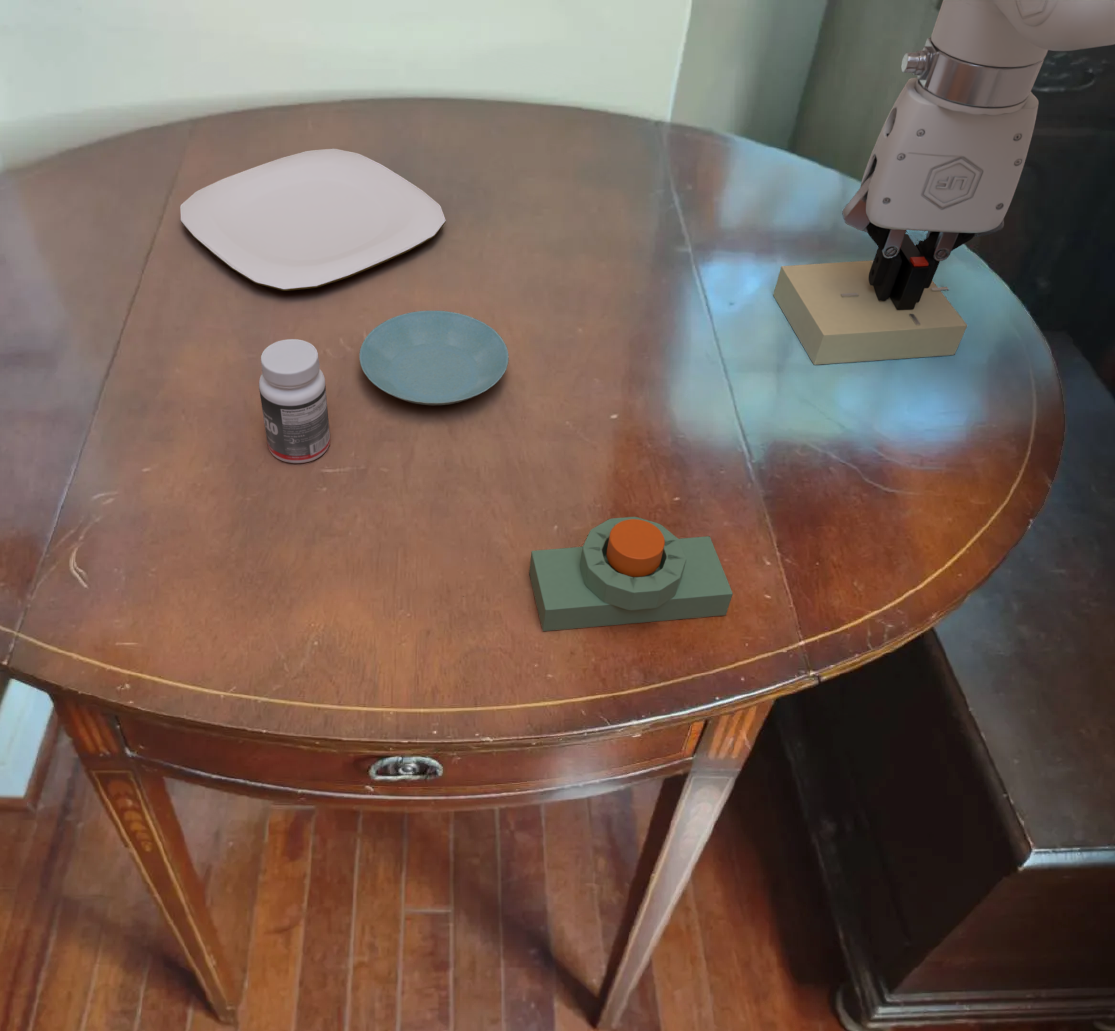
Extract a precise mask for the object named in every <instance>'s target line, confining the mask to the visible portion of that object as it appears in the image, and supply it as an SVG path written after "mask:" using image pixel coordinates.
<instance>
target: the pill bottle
mask: <svg viewBox="0 0 1115 1031" xmlns="http://www.w3.org/2000/svg"><path fill="white" fill-rule="evenodd" d="M260 355H261V356H260V364H261V365H260V366H261V374H260V378H259V381H258V382H259V383H258V390H259V397H260V398H259V399H260V402H261V403H260V404H261V410H262V411H261V412H262V416H263V418H262V419H263V424H264V429H265V438H266V444H267V447H268V450H269V452H270V453H271V455H272V456H273V457H275V458H276V459H277V460H279V461H282V462H285V463H289V464H303V463H304V464H305V463H309V462H312V461H315V460H317V459H318V458H320V457H321V456H323V455H324V454H325V453H326V452H327V450H328V449H329V447H330V444H331V432H330V422H329V412H328V398H327V386H326V385H327V384H326V378H325V375H324V373H323V371H322V369H321V364H320V358H319V353H318V350H317V348H316V347H315V346H314V345H313V344H312V343H311V342H309V341H307V340H303V339H297V338H286V339H281V340H277V341H275V342H273V343H271V344H269V345H268V346H267V347H265V348H264V349H263V351H262V353H261V354H260Z"/></svg>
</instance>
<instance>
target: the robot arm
mask: <svg viewBox="0 0 1115 1031" xmlns="http://www.w3.org/2000/svg"><path fill="white" fill-rule="evenodd" d="M1114 45H1115V0H942V2H941V6H940V8H939V11H938V15H937V17H936V20H935V23H934V26H933V29H932V33H931V36H930V37H927V38H926V41H925V44H924V46H923V48H922V49H921V50H917V51H915V52H907V51H906V52H905V53H904V55H903V57H902V60H901V65H900V69H901V70H900V71H901V73H907V74H911V75H912V76H915V77H910V78H909V79H907V81H906V83H905V84H904V86H903V88H902V89H901V91H900V92H899V95H898V96H897V98H896V100H895V101H894V104H893V105H892V107H891V109H890V111H889V113H888V114H887V117H886V119H885V121H884V123H883V125H882V127H881V129H880V132H879V134H878V136H877V139H876V141H875V144H874V146H873V149H872V151H871V153H870V156H869V159H868V161H867V164H866V167H865V168H864V169H865V170H864V172H863V176H862V179H861V182H860V186H859V189H858V190H857V191H856V192H855V194H854V195H853V196H852V197H851V199H850V200H849V202H848V203H847V204H846V205H845V207H844V208H842V211H841V215H842V217H843V221H844V223H845V224H846V226H849V227H852V228H853V229H856V230H857V231H861V232H864V233H866V234H868V236H869V237H870V238H871V239H872V241H873V243H874V244H875V245H876V246H877V249H876V252H875V255H874V258H873V260H874V261H873V263H872V266H871V269H870V272H869V283H870V285H871V286H873V287H874V290H875V293H876V296H877V298H878V301H886V299H889V296H890V294H891V291H892V288H893V286H894V283H895V280H896V278H897V275H898V272H899V270H900V267H901V264H902V259H901V256H900V254H899V253H900V250H901V248H900V247H901V245H902V242H903V239H904V236H905V234H907V231H917V232H926V236H925V238H924V239H923V240H919V241H918V243H916V244H915V246H916V247H917V249H918V250H919V252H920V253H921V255H922V256H923V257H925V259H926V260H927V262H928V263H929V264H928V265H929V267H930V269H929V272H928V274H927V277H926V280H925V282H924V285H923V287H922V290H921V292H920V295H919V297H918V300H917V302H916V303H918V302H919V301H920V298H921V296H922V293H923V291H924V288H929V287H930V285H931V282H932V280H933V281H934V277H935V275H936V272H937V270H938V268H939V265H940V262H943V261H945V260H947V259H948V258H949V257H950V255H951V253H952V251H955V250H956V249H958V248H959V247H961V246H963V245H965V244H966V243H968V242H969V241H971V240H972V239H973V238H975V237H976V238H979V237H982V236H987V235H990V234H995V233H997V232H1000V231H1001V230H1003V228H1004V226H1005V217H1006V215H1007V212H1008V211H1009V208H1010V205H1011V203H1012V201H1013V198H1014V195H1015V193H1016V189H1017V187H1018V184H1019V182H1020V178H1021V175H1022V172H1023V169H1024V166H1025V162H1026V160H1027V156H1028V152H1029V148H1030V145H1031V141H1032V137H1033V133H1034V129H1035V124H1036V120H1037V115H1038V110H1039V99H1038V98H1037V97H1036V96H1035V94H1033V92H1032V90H1033V87H1034V85H1035V82H1036V80H1037V77H1038V75H1039V73H1040V70H1041V68H1042V66H1043V64H1044V60H1045V59H1046V56H1047V54H1048V51H1053V52H1071V51H1079V50H1086V49H1093V48H1100V47H1107V46H1114Z"/></svg>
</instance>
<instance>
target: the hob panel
mask: <svg viewBox="0 0 1115 1031" xmlns="http://www.w3.org/2000/svg"><path fill="white" fill-rule="evenodd" d="M873 261H874V259H873V260H870V259H869V260H858V261H857V260H855V261H842V262H841V261H840V262H839V261H838V262H825V263H824V262H823V263H811V264H809V263H808V264H795V265H794V264H793V265H781V266H780V269H779V273H778V277H777V280H776V283H775V288H774V291H773V294H772V295H773V297H774V300H775V301H776V303H777V305H778V306H779V308H780V309H781V311H782V313H783V314H784V316H785V318H786V319H787V321H788V323H789V325H790V327H791V328H792V330H793V332H794V333H795V335H796V337H797V339H798V340H799V342H800V344H801V345H802V347H803V349H804V351H805V352H806V354H807V356H808V357H809V359H810V360H811V362H812V364H813V365H814V366H817V365H819V366H820V365H831V364H832V365H833V364H846V363H859V362H860V363H862V362H875V361H888V360H889V361H891V360H903V359H917V358H930V357H931V358H933V357H946V356H955V355H956V352H957V350H958V348H959V347H960V346H959V345H960V343H961V341H962V339H963V337H964V335H965V333H966V330H967V328H968V324H967V323H966V321H965V320H964V319H963V317H962V316H961V315H960V314H959V312H958V311H957V310H956V308H955V306H953V304H952V303H951V302H950V301H949V299H948V298H947V297H946V296H945V295H944V293H943V292H948V291H949V290H950V289H949V287H948V286H940V287H939V286H938V285H937V284H936V283H935V282H934V279H933V280H932V282H931V285H930V287H929V288H924V291H923V293H922V296H921V298H920V301H919V302H918V303H916V305H915V307H914V309H913V310H897V309H896V307H895V306H894V304H893V302H892V301H891V299H890V297H889V299H886V301H878V298H877V296H876V293H875V290H874V287H873V286H871V285H870V283H869V272H870V269H871V266H872V263H873Z"/></svg>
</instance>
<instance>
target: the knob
mask: <svg viewBox="0 0 1115 1031" xmlns="http://www.w3.org/2000/svg"><path fill="white" fill-rule="evenodd" d="M900 248H901V250H900V253H899V254H900V256H901V259H902V264H901V267H900V270H899V272H898V275H897V278H896V280H895V283H894V286H893V288H892V291H891V294H890V296H889V297H890V299H891V301H892V302H893V304H894V306H895V307H896V309H897V310H913V309H914V307H915V305H916V302H917V300H918V297H919V295H920V292H921V290H922V287H923V285H924V282H925V280H926V277H927V274H928V272H929V269H930V267H929V265H928V264H929V263H928V262H927V260H926V259H925V257H923V256H922V255H921V253H920V252H919V250H918V249H917V247H916V244H915V243H914V241H913V239H912V238H911V237H910V235H909V234H908V233H906V234H905V236H904V239H903V242H902V245H901V247H900Z"/></svg>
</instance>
